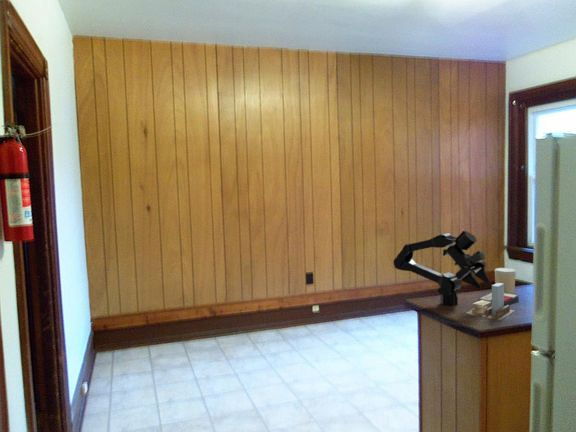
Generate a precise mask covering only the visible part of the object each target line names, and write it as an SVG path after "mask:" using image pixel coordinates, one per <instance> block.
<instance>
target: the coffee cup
mask: <svg viewBox="0 0 576 432" xmlns="http://www.w3.org/2000/svg"><path fill="white" fill-rule="evenodd" d="M516 273H517V271H516V269H515V268H511V267H510V268H509V267H498V268H495V269H494V282H495V283H494V284H496V283H503V284H504V293H507V294H513V295H515V289H516V288H515V287H516Z"/></svg>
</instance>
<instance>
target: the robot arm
mask: <svg viewBox="0 0 576 432" xmlns="http://www.w3.org/2000/svg"><path fill="white" fill-rule="evenodd" d="M477 242H478V241H477V237H475V235H473V234H472V233H470V232H468V231H467V230H463V231H461V233H460V234H459V235H458V236H453V235H452V234H451V233H448V232H447V233H442V234H439V235H436V236H434V237H432V238H430V239H426V240H422V241H418V242H417V241H416V242H413V243H412V242H411V243H407V244H406V243H405V245H403V247H402V249H401V250H400V252H398V254H397V256H396V257H395V258H394V259H393V266H394V268H395V269H396V270H400V271H405V272H411V273H414V274H416V275H418V276H421V277H423V278H425V279H427V280H429V281H432V282H434V283H437V284H438V286H439V287H438V288H437V292H438V294H439V297H440V298H439V299H440V300H439V301H440V305H442V306H445V307H446V306H447V307H451V306H455V305H456V306H457V305H459V304H458V303H459V302H458V301H459V299H458V298H459V296H458V295H457V292H459V290H460V289H461V287H462V285H463V282H464V283H466V284H469V285H471V286H472V287H475V288H477V289H479V290H480V289H481V288H482V286H481V284H480V282H479V280H477V279H476V278H478V279H480V280H481V281H483V282H484V283H486V284H487V285H491V280H490V279H489V276H488V274H487V272H486V269H487V263H486V261H484V260H485V259H486V257H485V256H486V254H485V252H484V251H482V250H477V251H476V252H475V254H472V255H471V254H469V253H466V252H464V251H468V250H469V249H470V248H471V247H472V246H474V245H475V244H476V243H477ZM446 247H447V248H446ZM430 248H438V249H440V248H444V249H443V250H442V256H443V257H444V256H449V257H450V258H451V259H452V260H453V261H454V265H455V266H458V267H459V268H460V269H459V270H458V271H456V273H452V272H449V271H448V272H445V273H440V272H438V271H436V270H433V269H432V268H431V269H430V268H428V267H426V266H424V265H422V264H419V263H416V262H415V261H414V259H413V256H414V252H415V251H420V250H424V249H430Z"/></svg>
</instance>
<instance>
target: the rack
mask: <svg viewBox="0 0 576 432" xmlns="http://www.w3.org/2000/svg"><path fill="white" fill-rule="evenodd" d="M510 306H511V304H509V305H506V306H505V307H503V308H501V309H499V310H498V311H496V315H493V314H492V306H491V307H489V308H488V309H486V310H485V314H481V313H476V312H472V309H471V310H469V311H467V312H466V315H473V316H478V317H482V318H487V319H493V320H497V321H501V320H502V319H504V318H506V317H507V316H509V315H511V314H512V313H513V312H515V311H516V310H514V309H511V307H510Z"/></svg>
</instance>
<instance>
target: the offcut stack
mask: <svg viewBox="0 0 576 432" xmlns="http://www.w3.org/2000/svg"><path fill="white" fill-rule="evenodd" d="M491 306H492V302H489V301H484V300H481V301H476V302H473V303H472V307H473V308H472V309H471V310H472V312H476V313H481V314H485V310H486V309H488V308H489V307H491Z"/></svg>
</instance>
